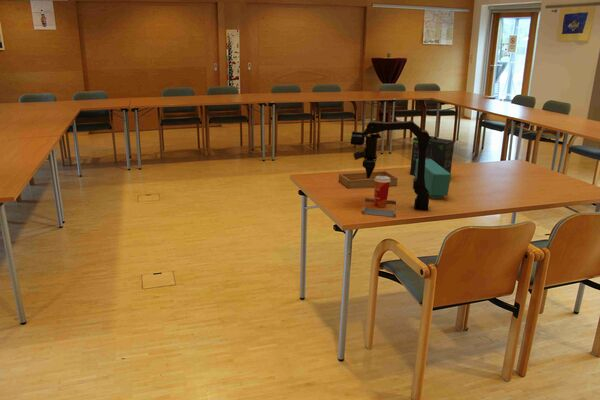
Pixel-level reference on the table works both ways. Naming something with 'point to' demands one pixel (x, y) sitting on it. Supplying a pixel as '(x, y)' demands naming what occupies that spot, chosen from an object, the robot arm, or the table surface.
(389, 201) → the strip
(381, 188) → the coffee cup
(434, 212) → the table surface
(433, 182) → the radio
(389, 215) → the mat
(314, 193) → the table surface
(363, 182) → the tray
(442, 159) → the headset box
